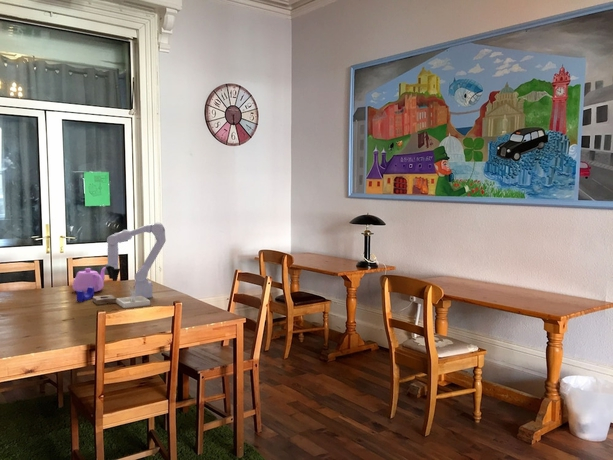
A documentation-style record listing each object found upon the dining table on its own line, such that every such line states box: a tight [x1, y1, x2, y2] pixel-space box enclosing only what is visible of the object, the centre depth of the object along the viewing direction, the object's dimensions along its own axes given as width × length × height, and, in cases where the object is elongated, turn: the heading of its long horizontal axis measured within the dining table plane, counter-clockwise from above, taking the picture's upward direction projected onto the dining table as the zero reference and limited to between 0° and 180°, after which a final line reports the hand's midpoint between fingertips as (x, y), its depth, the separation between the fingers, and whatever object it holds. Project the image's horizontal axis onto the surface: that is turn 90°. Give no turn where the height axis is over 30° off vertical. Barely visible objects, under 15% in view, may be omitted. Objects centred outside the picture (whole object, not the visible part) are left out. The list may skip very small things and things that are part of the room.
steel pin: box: [129, 285, 135, 302], centre depth 290 cm, size 3×3×9 cm
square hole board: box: [92, 294, 117, 306], centre depth 294 cm, size 10×10×2 cm
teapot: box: [72, 266, 107, 293], centre depth 323 cm, size 22×22×14 cm
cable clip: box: [76, 287, 95, 303], centre depth 300 cm, size 12×4×6 cm, turn 170°
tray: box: [116, 296, 151, 309], centre depth 290 cm, size 14×14×2 cm
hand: (113, 279), depth 304 cm, fingers open, 7 cm apart
